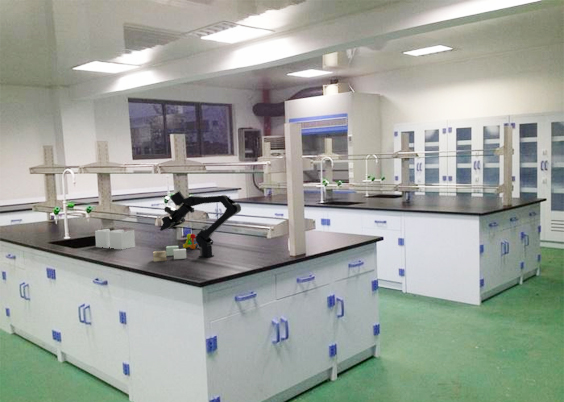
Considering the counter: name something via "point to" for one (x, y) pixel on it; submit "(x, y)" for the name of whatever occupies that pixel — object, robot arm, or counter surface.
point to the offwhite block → (179, 253)
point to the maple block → (159, 256)
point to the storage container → (115, 239)
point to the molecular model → (187, 244)
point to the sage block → (170, 250)
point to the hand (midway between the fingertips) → (164, 229)
